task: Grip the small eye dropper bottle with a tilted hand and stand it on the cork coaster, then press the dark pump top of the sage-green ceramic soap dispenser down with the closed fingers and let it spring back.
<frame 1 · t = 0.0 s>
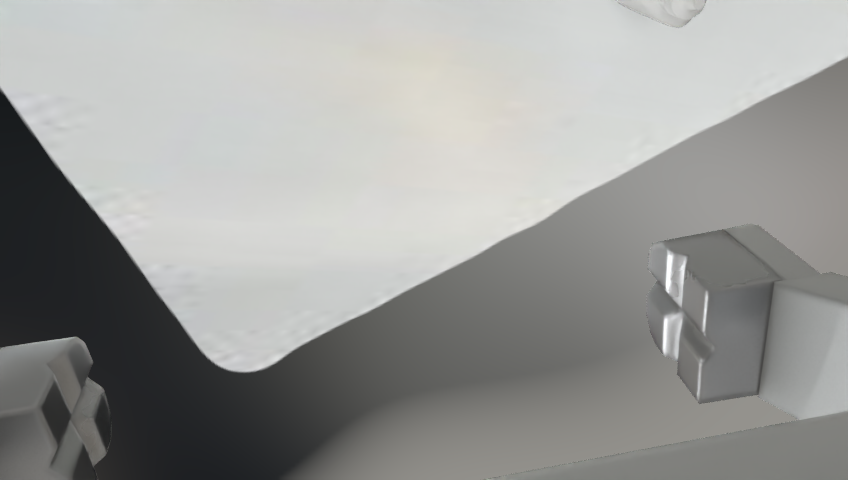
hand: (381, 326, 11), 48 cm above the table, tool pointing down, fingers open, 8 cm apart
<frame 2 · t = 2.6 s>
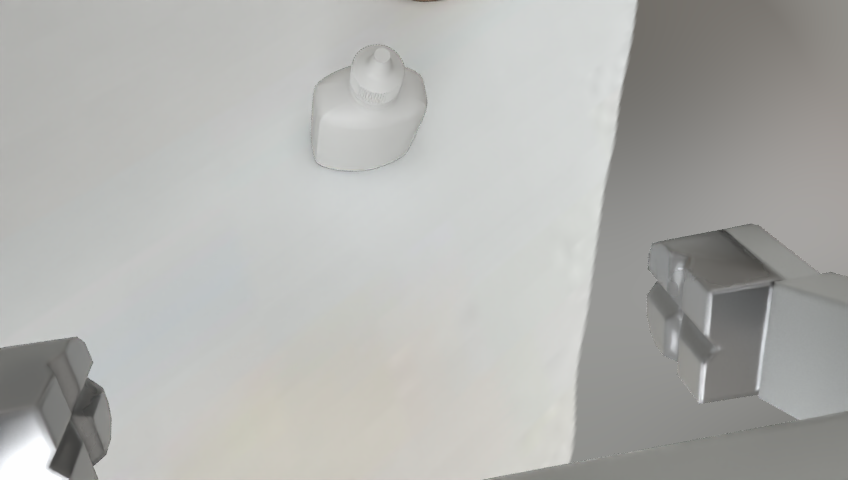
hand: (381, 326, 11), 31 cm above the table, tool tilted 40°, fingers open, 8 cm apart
eye dropper bottle: (359, 144, 44), on the table
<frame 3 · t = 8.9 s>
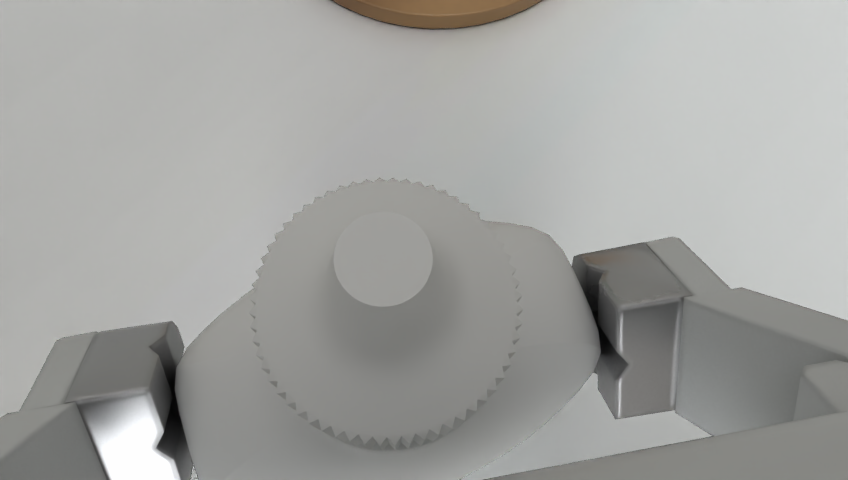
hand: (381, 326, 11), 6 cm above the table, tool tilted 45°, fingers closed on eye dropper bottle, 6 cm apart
eye dropper bottle: (394, 409, 17), on the table, touching gripper
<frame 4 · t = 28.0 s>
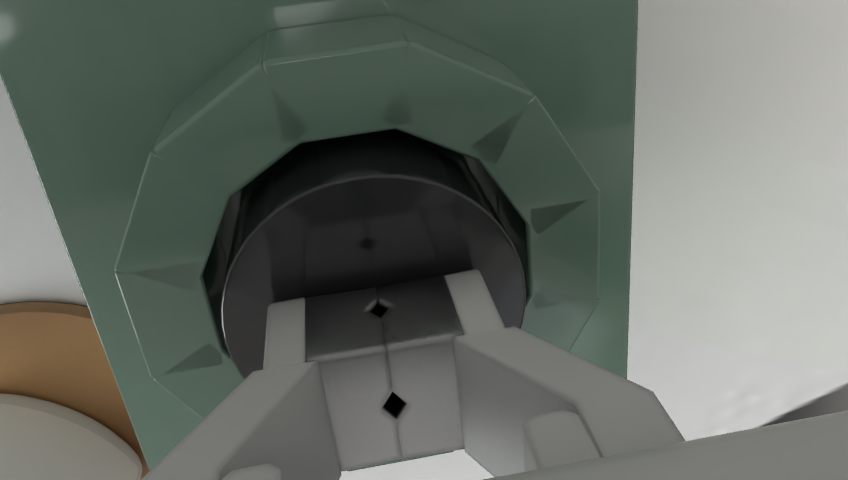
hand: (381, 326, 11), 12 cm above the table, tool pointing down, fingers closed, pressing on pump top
eye dropper bottle: (57, 440, 25), resting on coaster
pump top: (372, 281, 12), point 11 cm above the table, slide at -0.7 cm, touching gripper
dispenser: (339, 91, 21), on the table
coaster: (59, 428, 25), on the table
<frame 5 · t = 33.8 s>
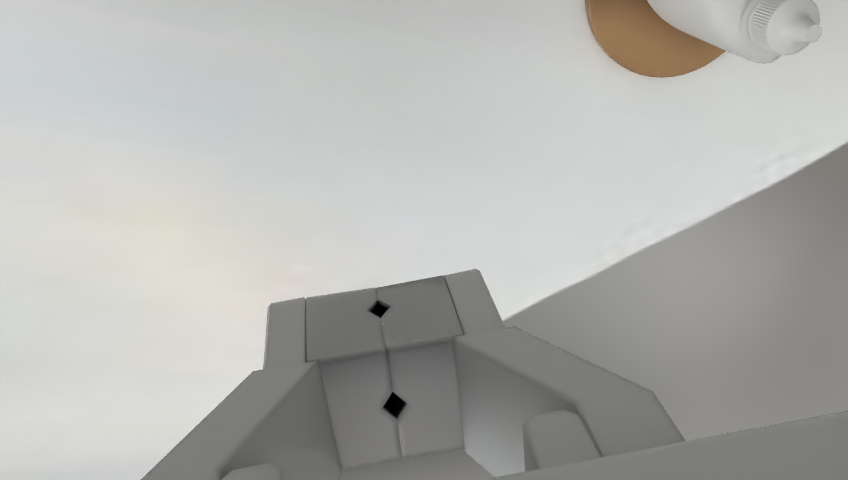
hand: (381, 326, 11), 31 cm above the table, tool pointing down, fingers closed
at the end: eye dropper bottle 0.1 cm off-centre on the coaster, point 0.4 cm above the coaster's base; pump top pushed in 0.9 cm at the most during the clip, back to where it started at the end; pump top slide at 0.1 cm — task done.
